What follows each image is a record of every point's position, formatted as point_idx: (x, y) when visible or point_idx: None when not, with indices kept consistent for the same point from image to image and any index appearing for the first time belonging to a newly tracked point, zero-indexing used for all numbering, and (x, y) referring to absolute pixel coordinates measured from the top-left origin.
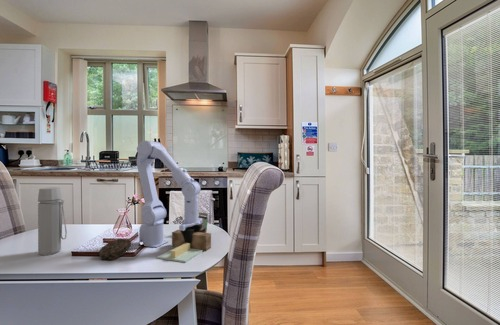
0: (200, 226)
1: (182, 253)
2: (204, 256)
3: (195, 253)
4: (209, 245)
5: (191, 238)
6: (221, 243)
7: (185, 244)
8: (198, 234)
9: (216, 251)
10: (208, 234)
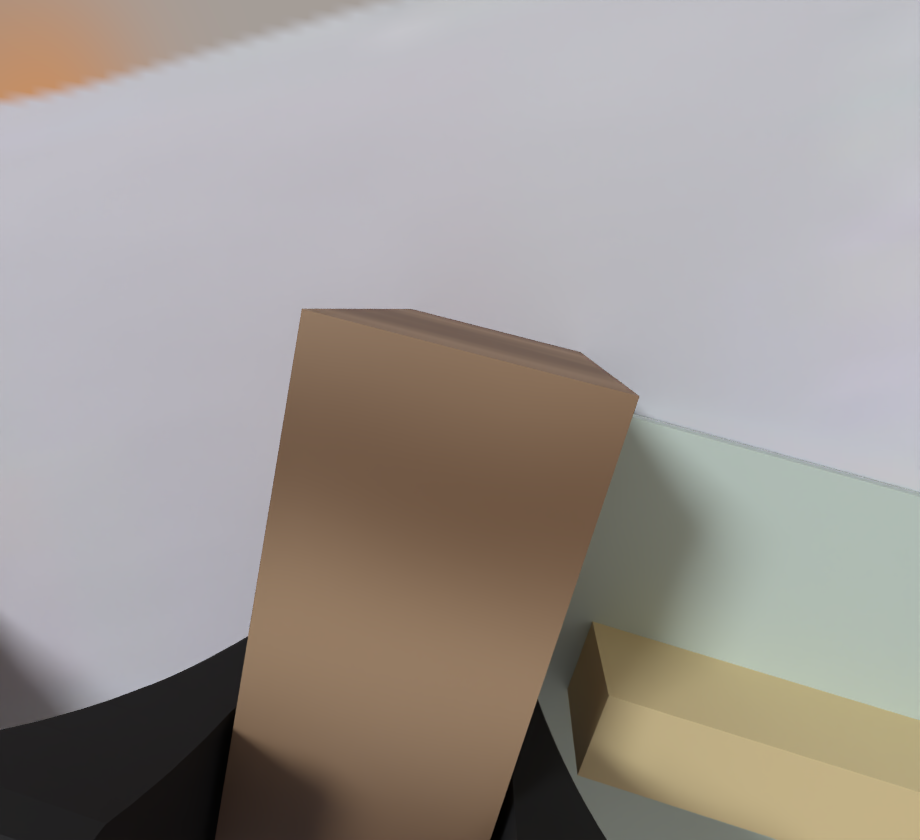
0: (69, 824)
1: (822, 694)
2: (868, 316)
3: (807, 495)
4: (459, 324)
5: (530, 752)
6: (153, 167)
7: (689, 765)
8: (473, 672)
9: (595, 153)
10: (436, 367)
